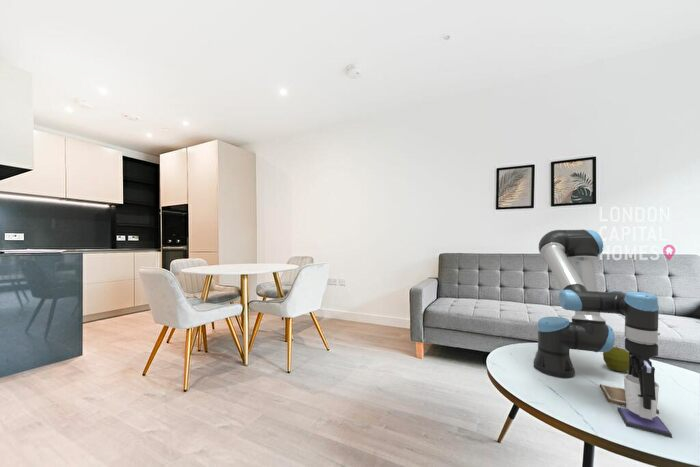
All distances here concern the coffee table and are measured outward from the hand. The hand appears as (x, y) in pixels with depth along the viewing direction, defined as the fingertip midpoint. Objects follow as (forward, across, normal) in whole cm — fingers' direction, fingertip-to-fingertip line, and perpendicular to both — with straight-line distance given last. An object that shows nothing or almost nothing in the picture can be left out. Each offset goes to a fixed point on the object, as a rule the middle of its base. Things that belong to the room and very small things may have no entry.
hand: (640, 410), depth 92 cm
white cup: (0, 0, 0) cm, 0 cm away
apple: (+5, +45, -4) cm, 46 cm away
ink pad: (+4, -1, 0) cm, 4 cm away
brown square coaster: (+4, +15, 0) cm, 16 cm away
